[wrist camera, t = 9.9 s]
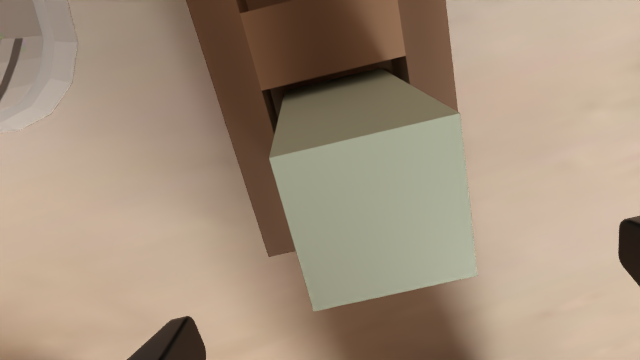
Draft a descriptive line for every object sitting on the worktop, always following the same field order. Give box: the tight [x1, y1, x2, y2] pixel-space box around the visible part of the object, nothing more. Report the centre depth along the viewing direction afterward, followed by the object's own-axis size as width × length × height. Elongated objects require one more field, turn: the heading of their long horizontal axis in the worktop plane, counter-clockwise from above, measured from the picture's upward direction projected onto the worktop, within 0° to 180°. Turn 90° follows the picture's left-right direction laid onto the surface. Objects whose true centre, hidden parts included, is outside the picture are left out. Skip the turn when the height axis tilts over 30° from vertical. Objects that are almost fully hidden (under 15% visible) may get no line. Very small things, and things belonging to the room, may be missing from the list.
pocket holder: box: [186, 0, 458, 257], centre depth 17 cm, size 9×17×4 cm, turn 13°
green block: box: [269, 68, 478, 311], centre depth 15 cm, size 4×4×10 cm
